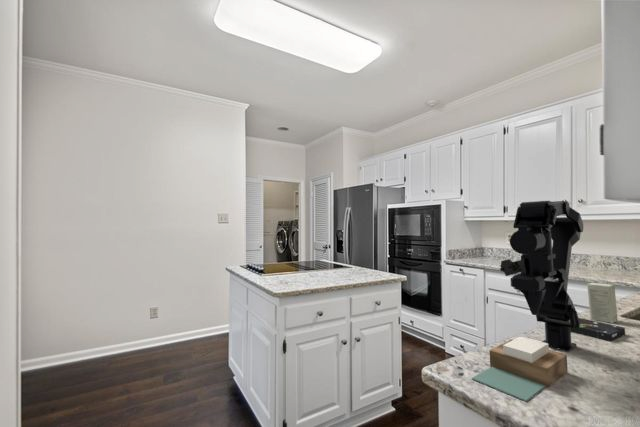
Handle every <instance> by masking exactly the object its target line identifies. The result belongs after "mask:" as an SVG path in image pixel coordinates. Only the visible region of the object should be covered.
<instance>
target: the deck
mask: <svg viewBox="0 0 640 427" xmlns="http://www.w3.org/2000/svg"><path fill="white" fill-rule="evenodd" d="M512 340H513V339H509V340H507V341H505V342H504V343H501V344H499V345H497V346H495V347H493V348H492V349H489V350H488V351H489V368H490V367H495V368H498V369H501V370H504V371H506V372H509V373H512V374H515V375H518V376H520V377H523V378H526V379H529V380H532V381H534V382H537V383H540V384H543V385H545V388H547V389H548V388H549V389H550V387H551V386H553V385H554V384H555V383H556V382H558V381H559V380H560V379H561V378H562V377H564V376H565V375H567V373H568V372H569V371H568V369H569V368H568V355H567V354H566V353H561V352H559V351H554V350H551V349H549V352H548V353H547V354H545V355H544V356H542V357H541V358H539V359H537V360H536V361H534V362H533V363H531V362H528V361H525V360H521V359H518V358H515V357H512V356H509V355H506V354H503V345H505V344H507V343H509V342H510V341H512Z"/></svg>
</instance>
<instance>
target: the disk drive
mask: <svg viewBox="0 0 640 427" xmlns="http://www.w3.org/2000/svg"><path fill="white" fill-rule="evenodd" d="M569 321H570V320H569ZM579 323H580V327H575V328H571V333H574V334H578V335H582V336H586V337H589V338H594V339H598V340H602V341H606V342H610V343H612V342H613V341H615V340H617V339H621V337H624V336H626V328H625V327H623V326H619V325H613V324H611V323H610V324H609V323H606V322H602V321H597V320H593V319H588V318H581V317H579Z"/></svg>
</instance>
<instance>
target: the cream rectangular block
mask: <svg viewBox="0 0 640 427" xmlns="http://www.w3.org/2000/svg"><path fill="white" fill-rule="evenodd" d="M511 340H512V341H510V342H509V343H507V344H505V345H503V354H506V355H509V356H512V357H515V358H518V359H521V360H525V361H528V362H531V363H533V362H534V361H536V360H537V359H539V358H541V357H542V356H544V355H545V354H547V353H548V352H549V350H550V348H549V345H548V343H544V342H542V341H540V340H536V339H531V338H529V337H524V336H518V337H517V338H515V339H511Z"/></svg>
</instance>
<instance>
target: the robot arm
mask: <svg viewBox="0 0 640 427" xmlns="http://www.w3.org/2000/svg"><path fill="white" fill-rule="evenodd" d="M561 215H562V216H564V217H562V216H561ZM559 216H561V217H559ZM513 229H518V230H516V231H515V232H513V233H512V235H511V236H510V237H509V238H510V239H509V246H510V247H511V248H512V250H513V251H514V252H516V253H518V254H521V255H520V260H516V261H512V260H511V259H510V258H508V259H505V260H501V261H500V265H499V266H500V268H499V270H500V271H501V272H503V273H504V275H505V277H508V276H511V275H512V276H511V278H510V279H509V280H510V287H512V288H515V290H518V291H519V292H520V293H522V294H523V296H524V299H525V300H526V303H527V306H528V308H529V310H530V313H531V315H533V316H535V317H536V321H537V322H540V323H544V331H545V332H544V334H545V339H544V340H542V341H541V342H544V343H548V345H549V347H550V348H552V349H557V350H561V351H565V352H570V351H572V350H573V349H574V348H576V347H577V343H574V342H572V332H571V328H575V327H580V323H579V318H580V317H579V315H578V312H577V310H576V308H575V306H574V302H573V300H572V298H571V297H570V295H569V293H568V284H569V276H570V267H571V258H572V251H573V250H572V248H573V246H574V245H575V244H577V243H578V242H579V241H580V239H581V234H582V233H583V232H584V222H583V219H582V216H581V214H580V212H578V211H576V210H575V209H573V208H572V207H571V206H570V203H569V202H568V201H565V200H560V201H559V200H556V201H555V200H554V201H551V200H538V201H524V202H523V201H522V202H521V203H520V204H519V206H518V207H517V209H516V213H515V218H514V223H513ZM569 320H570V321H569Z"/></svg>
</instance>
